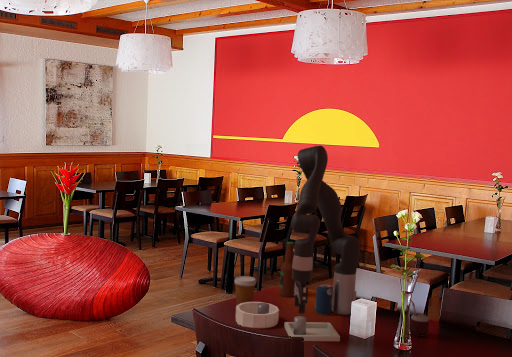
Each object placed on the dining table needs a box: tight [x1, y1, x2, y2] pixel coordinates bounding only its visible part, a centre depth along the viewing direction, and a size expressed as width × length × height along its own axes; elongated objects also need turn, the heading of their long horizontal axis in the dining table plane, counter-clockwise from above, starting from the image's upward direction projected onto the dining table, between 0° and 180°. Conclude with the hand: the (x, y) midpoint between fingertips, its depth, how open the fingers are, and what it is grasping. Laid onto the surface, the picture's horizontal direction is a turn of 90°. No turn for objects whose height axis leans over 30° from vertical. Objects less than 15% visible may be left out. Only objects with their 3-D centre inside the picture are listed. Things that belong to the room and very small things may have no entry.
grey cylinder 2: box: [293, 315, 308, 335], centre depth 215 cm, size 5×5×6 cm
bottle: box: [279, 241, 295, 298], centre depth 265 cm, size 7×7×25 cm
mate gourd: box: [409, 299, 430, 336], centre depth 221 cm, size 8×8×15 cm
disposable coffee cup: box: [234, 275, 257, 306], centre depth 246 cm, size 10×10×12 cm
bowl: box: [235, 301, 280, 329], centre depth 227 cm, size 17×17×6 cm
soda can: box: [314, 282, 333, 316], centre depth 243 cm, size 7×7×12 cm
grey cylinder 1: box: [257, 302, 270, 314], centre depth 227 cm, size 5×5×6 cm
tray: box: [283, 321, 341, 342], centre depth 216 cm, size 18×15×2 cm
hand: (299, 309), depth 215 cm, fingers open, 8 cm apart
